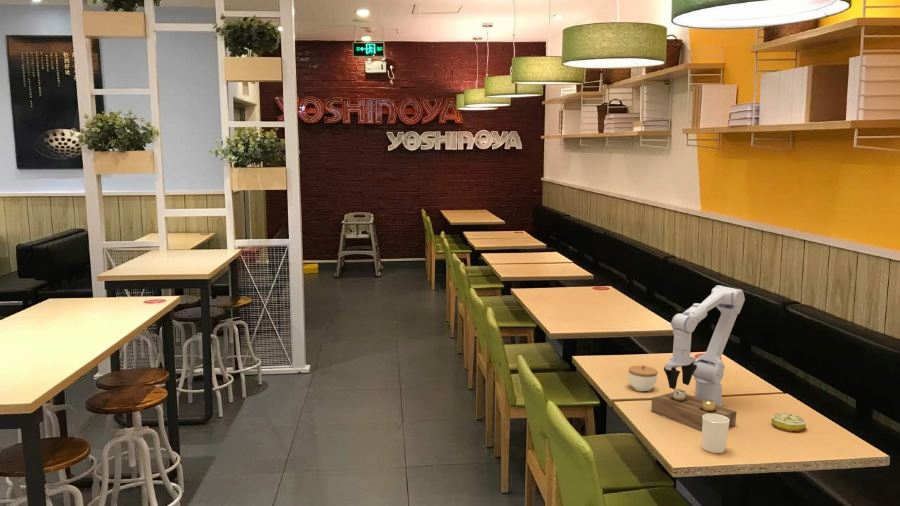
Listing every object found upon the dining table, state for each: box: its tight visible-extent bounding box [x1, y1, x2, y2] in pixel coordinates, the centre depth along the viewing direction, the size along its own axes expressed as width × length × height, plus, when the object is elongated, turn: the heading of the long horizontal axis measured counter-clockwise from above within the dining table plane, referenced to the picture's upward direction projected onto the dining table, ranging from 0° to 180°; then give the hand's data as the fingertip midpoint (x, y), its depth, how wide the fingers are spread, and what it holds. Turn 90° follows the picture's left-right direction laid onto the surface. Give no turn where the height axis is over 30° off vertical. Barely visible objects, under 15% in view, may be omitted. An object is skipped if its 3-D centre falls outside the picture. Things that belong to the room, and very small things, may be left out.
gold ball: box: [702, 399, 715, 413], centre depth 248 cm, size 4×4×4 cm
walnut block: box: [650, 391, 737, 432], centre depth 253 cm, size 14×24×5 cm, turn 35°
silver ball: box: [673, 388, 687, 402], centre depth 258 cm, size 4×4×4 cm
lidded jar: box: [628, 364, 659, 393], centre depth 282 cm, size 11×11×9 cm
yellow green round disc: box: [770, 412, 807, 432], centre depth 248 cm, size 10×11×4 cm
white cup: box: [701, 414, 730, 454], centre depth 228 cm, size 8×8×10 cm
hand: (679, 386), depth 257 cm, fingers open, 7 cm apart
